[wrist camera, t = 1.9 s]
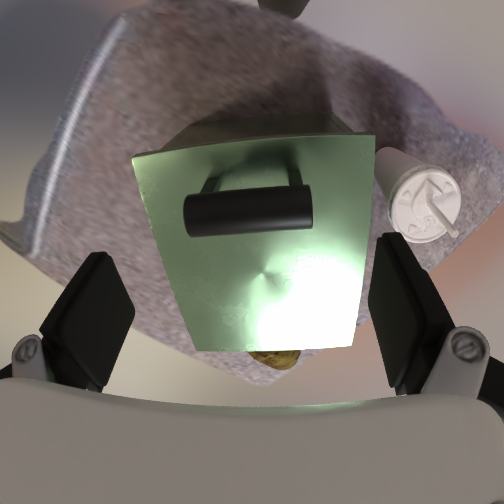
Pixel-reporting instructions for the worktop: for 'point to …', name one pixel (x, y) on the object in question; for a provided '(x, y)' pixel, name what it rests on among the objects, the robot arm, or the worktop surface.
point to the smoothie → (417, 196)
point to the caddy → (258, 127)
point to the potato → (277, 358)
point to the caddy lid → (263, 236)
